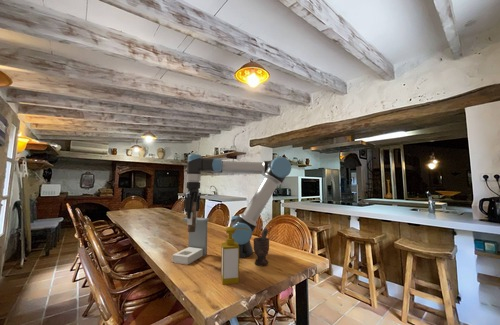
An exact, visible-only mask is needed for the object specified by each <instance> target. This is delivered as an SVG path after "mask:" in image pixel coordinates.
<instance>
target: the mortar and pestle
mask: <svg viewBox="0 0 500 325" xmlns="http://www.w3.org/2000/svg"><path fill="white" fill-rule="evenodd" d="M268 234H269V229H268V228H263V229H262V234H261V236H259V237H258V236H257V237H254V238H253V250H254V254H255V255H256V257H257V258H256V259H255V260H254V264H255V266H260V267H261V266H262V267H265V266H267V265H269V261H268V259H267V258H266V257H267V255H268V253H269V250H270V239H269V237H267V236H268Z"/></svg>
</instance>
